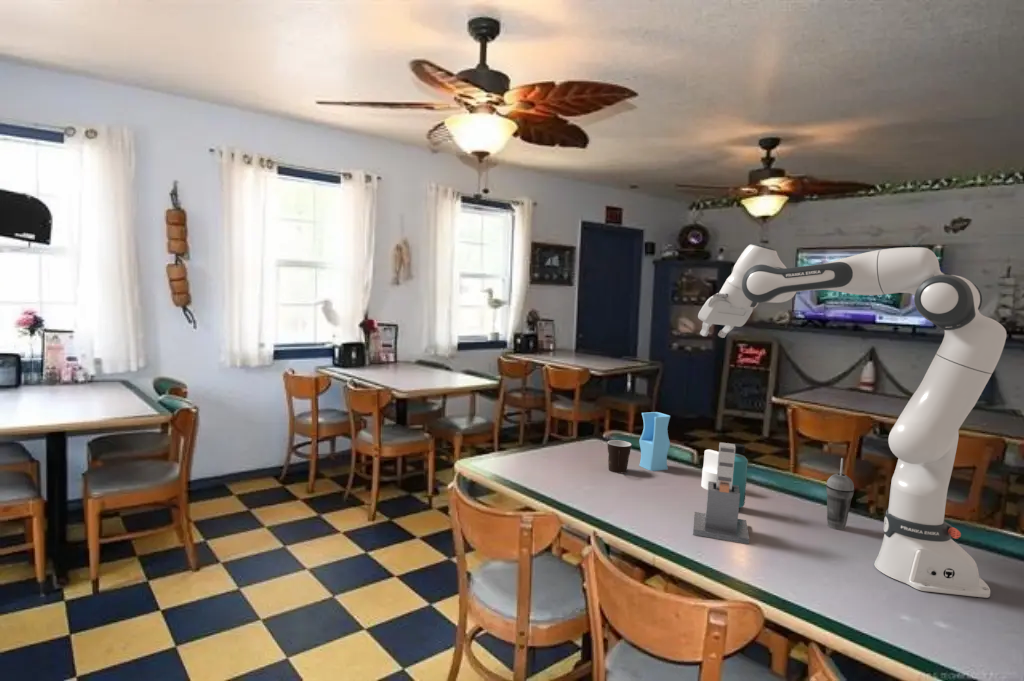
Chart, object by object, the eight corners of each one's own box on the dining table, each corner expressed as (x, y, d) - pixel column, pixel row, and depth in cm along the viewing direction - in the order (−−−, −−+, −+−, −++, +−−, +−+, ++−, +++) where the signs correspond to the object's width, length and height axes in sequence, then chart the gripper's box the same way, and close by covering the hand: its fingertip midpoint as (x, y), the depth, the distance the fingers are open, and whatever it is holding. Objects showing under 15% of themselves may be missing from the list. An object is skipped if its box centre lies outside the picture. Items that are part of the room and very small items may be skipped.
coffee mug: (612, 465, 221) (613, 439, 220) (633, 470, 216) (635, 443, 215) (597, 472, 211) (599, 444, 211) (619, 477, 206) (621, 449, 206)
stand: (745, 525, 168) (749, 477, 167) (748, 544, 155) (753, 493, 154) (694, 516, 173) (698, 470, 172) (693, 534, 160) (697, 484, 158)
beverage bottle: (746, 513, 178) (752, 448, 176) (722, 510, 179) (728, 445, 178) (742, 506, 184) (747, 443, 183) (719, 503, 186) (725, 440, 184)
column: (728, 521, 165) (734, 444, 163) (728, 527, 161) (735, 447, 159) (713, 519, 166) (719, 442, 165) (713, 524, 162) (719, 445, 160)
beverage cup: (823, 528, 169) (830, 460, 167) (820, 520, 176) (826, 454, 174) (852, 533, 166) (860, 464, 165) (847, 524, 173) (854, 457, 172)
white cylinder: (695, 485, 202) (698, 451, 201) (711, 481, 208) (714, 448, 207) (718, 493, 195) (721, 458, 194) (734, 489, 200) (737, 454, 199)
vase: (637, 465, 223) (641, 412, 221) (653, 463, 227) (657, 411, 225) (651, 471, 216) (655, 417, 214) (668, 469, 220) (672, 416, 218)
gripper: (723, 297, 164) (699, 340, 169) (761, 303, 177) (738, 342, 182) (706, 286, 168) (683, 328, 174) (745, 293, 181) (722, 332, 186)
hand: (712, 335), depth 178 cm, fingers open, 8 cm apart
